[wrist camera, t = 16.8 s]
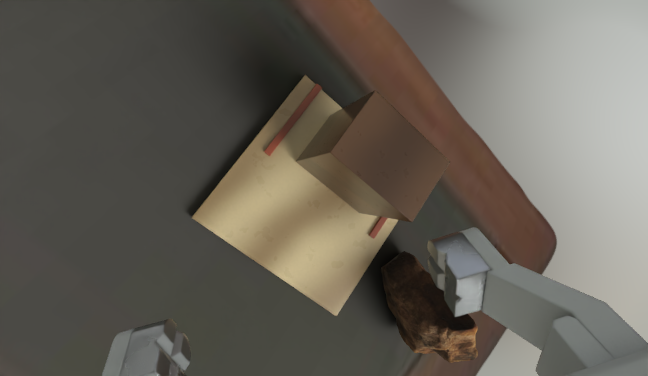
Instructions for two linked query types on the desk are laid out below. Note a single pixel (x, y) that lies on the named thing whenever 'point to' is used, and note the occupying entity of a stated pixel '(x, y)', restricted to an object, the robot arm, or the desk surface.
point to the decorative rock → (426, 312)
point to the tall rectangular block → (374, 159)
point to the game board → (294, 207)
